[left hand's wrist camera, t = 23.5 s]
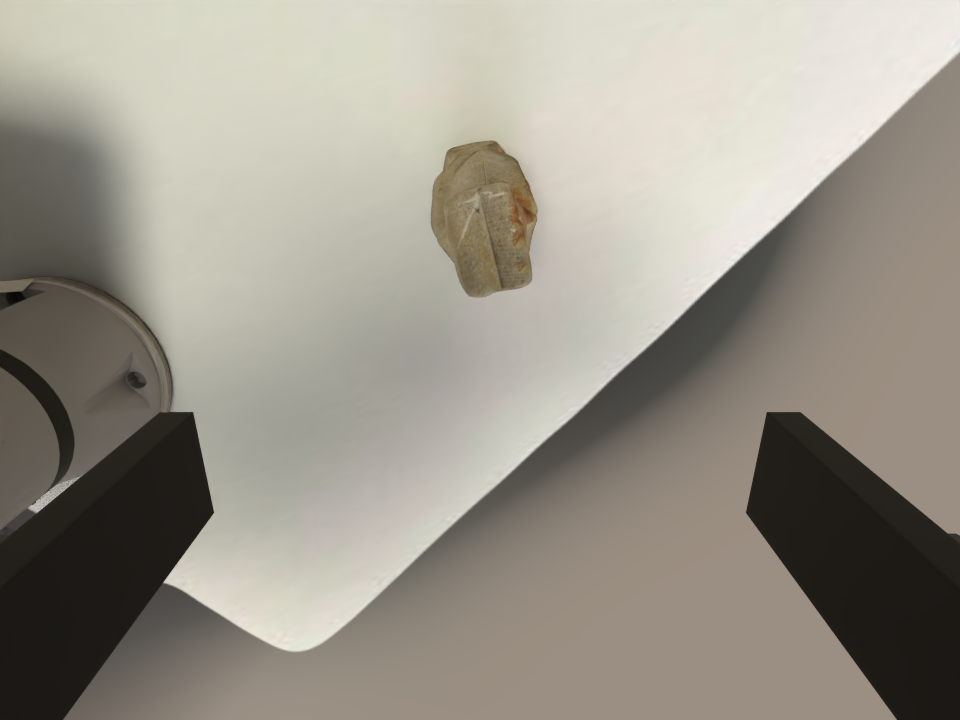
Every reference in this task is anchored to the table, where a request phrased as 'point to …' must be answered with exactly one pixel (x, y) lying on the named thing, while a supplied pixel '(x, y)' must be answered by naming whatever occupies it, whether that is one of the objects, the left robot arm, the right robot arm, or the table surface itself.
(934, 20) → the table surface
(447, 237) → the sculpture
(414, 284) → the table surface
